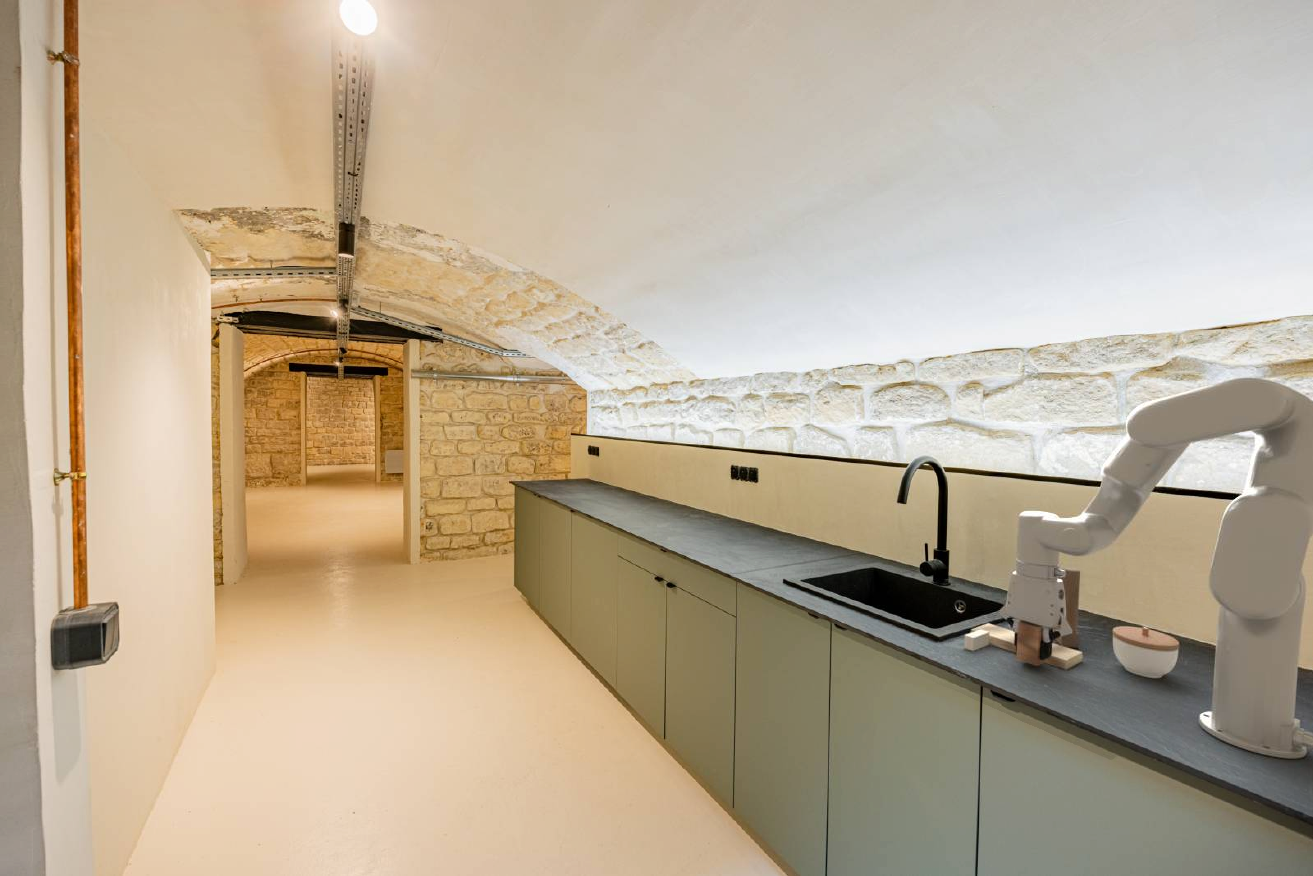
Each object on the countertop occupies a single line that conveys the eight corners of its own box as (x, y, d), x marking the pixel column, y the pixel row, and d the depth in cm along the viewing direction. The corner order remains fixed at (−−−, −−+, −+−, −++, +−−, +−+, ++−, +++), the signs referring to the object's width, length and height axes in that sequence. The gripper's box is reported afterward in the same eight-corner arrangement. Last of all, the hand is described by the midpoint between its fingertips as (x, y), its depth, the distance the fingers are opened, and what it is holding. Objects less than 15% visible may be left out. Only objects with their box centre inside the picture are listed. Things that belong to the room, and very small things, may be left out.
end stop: (988, 644, 134) (989, 632, 134) (972, 651, 130) (973, 638, 130) (980, 641, 136) (980, 629, 135) (964, 648, 132) (964, 635, 132)
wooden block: (1062, 632, 143) (1066, 560, 142) (1079, 649, 132) (1083, 572, 132) (1045, 630, 144) (1049, 559, 143) (1060, 646, 134) (1064, 570, 133)
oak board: (1082, 661, 126) (1082, 652, 126) (1065, 669, 121) (1066, 660, 121) (987, 631, 142) (988, 623, 142) (970, 637, 138) (970, 629, 138)
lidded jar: (1183, 674, 120) (1186, 630, 120) (1169, 688, 114) (1172, 642, 113) (1119, 656, 129) (1122, 615, 128) (1103, 668, 122) (1105, 625, 122)
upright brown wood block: (1066, 651, 128) (1068, 616, 127) (1036, 666, 120) (1038, 628, 120) (1046, 645, 131) (1048, 610, 131) (1016, 658, 123) (1018, 622, 123)
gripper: (1090, 577, 117) (1085, 665, 118) (1004, 559, 131) (1000, 637, 132) (1074, 583, 113) (1069, 674, 114) (987, 563, 127) (983, 644, 128)
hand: (1032, 653), depth 123 cm, fingers closed on upright brown wood block, 4 cm apart
